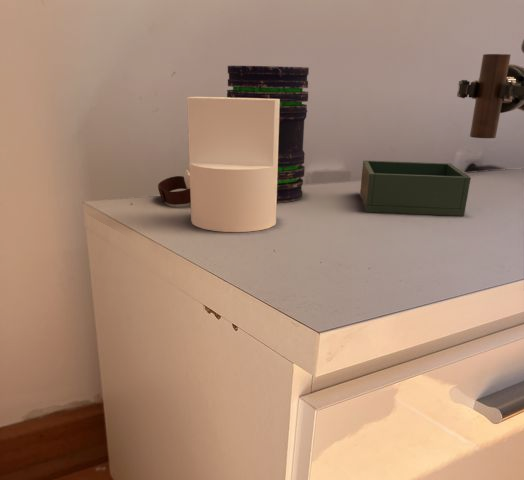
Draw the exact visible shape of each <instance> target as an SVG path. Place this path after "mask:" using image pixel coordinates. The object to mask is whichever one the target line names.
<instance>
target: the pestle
mask: <svg viewBox="0 0 524 480" xmlns="http://www.w3.org/2000/svg"><path fill="white" fill-rule="evenodd" d="M511 56H512V55H511V54H510V53H509V54H508V53H485V54H484V53H483V54H482V59H481V65H480V72H479V77H478V79H479V83H478V89H477V95H476V100H475V102H474V107H473V114H472V120H471V121H472V122H471V125H470V126H471V127H470V132H469V137H470V138H474V139H496V138H497V132H498V128H499V122H500V117H501V113H500V111H501V105H502V100H503V99H502V98H499V97H500V91H501V85H502V83H506V78H507V72H508V67H509V64H510V61H511Z"/></svg>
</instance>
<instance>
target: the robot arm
mask: <svg viewBox="0 0 524 480" xmlns="http://www.w3.org/2000/svg"><path fill="white" fill-rule="evenodd" d="M520 49H521V53H523V54H524V39H522V42H521V46H520ZM478 83H479V78H478V79H477V80H476V79H474V80H472V81H470V80H468V79H461V80H459V81H458V86H457V92H456V97H457V98H461V99H465V98H470V99H472V100H475V101H476V95H477V89H478ZM499 98H502V99H503V100H502V105H501V111H500V114H503V113H508V112H511V111H512V112H513V111H514V110H517V109H518V110H520V111H522V112H524V67H523V66H520V65H519V64H518V65H517V64H513V63H509V67H508V72H507V78H506V83H502V85H501V91H500V97H499Z"/></svg>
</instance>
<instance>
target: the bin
mask: <svg viewBox="0 0 524 480" xmlns="http://www.w3.org/2000/svg"><path fill="white" fill-rule="evenodd" d="M361 169H362V170H361V180H360V190H359V194H360V197H361V200H362V204H363V207H364V210H365V212H366V213H381V214H405V215H429V216H451V217H452V216H455V217H465V212H466V207H467V203H468V195H469V189H470V185H471V180H472V179H471V178H472V177H470V176H469V175H468V174H467V173H465V172H464V171H462V170H461V169H459V168H458V167H456V166H455V165H453V164H452V163H447V162H446V163H445V162H421V161H419V162H418V161H390V160H365V159H364V160H362V168H361Z"/></svg>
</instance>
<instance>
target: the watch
mask: <svg viewBox="0 0 524 480" xmlns="http://www.w3.org/2000/svg"><path fill="white" fill-rule="evenodd" d="M157 189H158V193H159V196H160V199H161V202H163V203H164V204H165V203H166V204H169V205H173V206H180V205H187V204H191V196H190V171H189V169H186V170H185V173H184V176H183V175H182V176H181V175H175V176H170V177H167V178H165V179H163V180H161V181H160V182H159V183H158V185H157ZM177 190H178V191H177Z"/></svg>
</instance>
